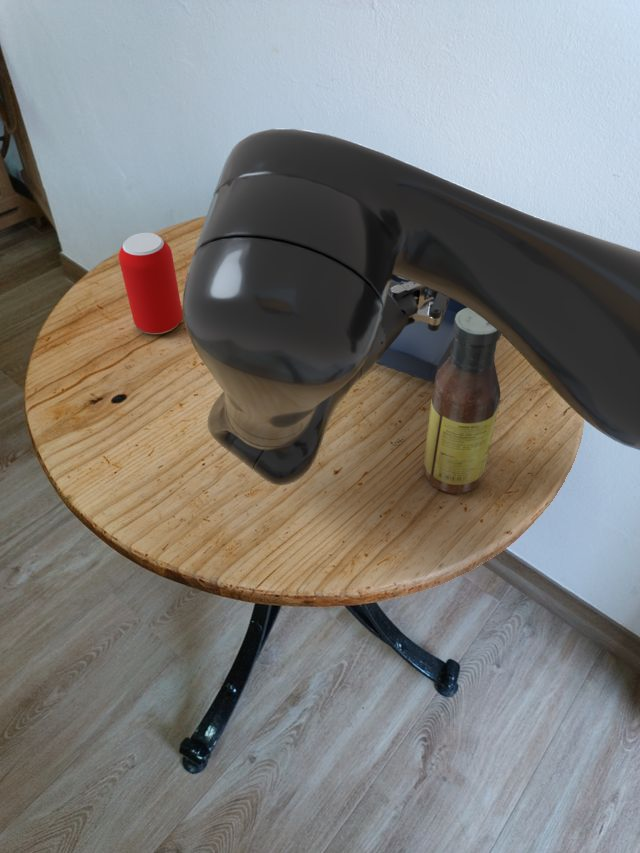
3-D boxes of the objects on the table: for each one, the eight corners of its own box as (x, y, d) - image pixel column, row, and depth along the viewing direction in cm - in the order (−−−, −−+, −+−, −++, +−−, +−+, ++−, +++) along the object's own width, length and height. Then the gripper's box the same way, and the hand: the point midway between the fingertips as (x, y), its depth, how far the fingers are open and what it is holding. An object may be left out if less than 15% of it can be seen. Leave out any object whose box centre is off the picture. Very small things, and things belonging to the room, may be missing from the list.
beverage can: (131, 315, 90) (112, 233, 82) (178, 305, 92) (164, 224, 83) (139, 343, 86) (120, 261, 78) (188, 333, 88) (174, 251, 79)
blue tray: (472, 317, 90) (475, 300, 89) (434, 382, 82) (437, 365, 80) (380, 290, 95) (381, 273, 93) (334, 349, 86) (335, 332, 84)
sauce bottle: (494, 479, 72) (538, 329, 57) (448, 506, 69) (483, 356, 55) (451, 441, 75) (483, 290, 61) (407, 465, 73) (429, 314, 58)
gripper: (418, 329, 67) (483, 250, 78) (295, 284, 72) (370, 215, 83) (410, 385, 73) (471, 304, 83) (296, 340, 78) (366, 269, 88)
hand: (421, 260), depth 83 cm, fingers closed on pill bottle, 5 cm apart
